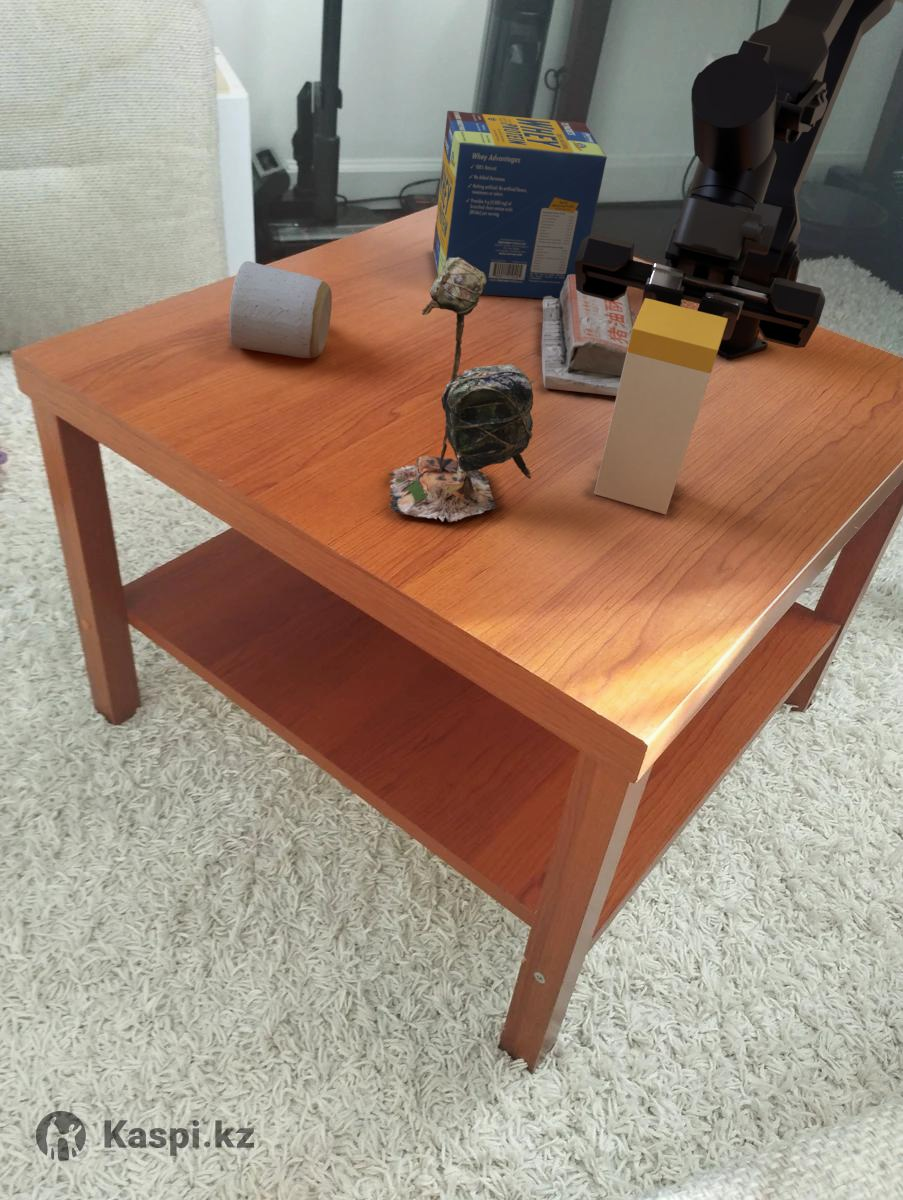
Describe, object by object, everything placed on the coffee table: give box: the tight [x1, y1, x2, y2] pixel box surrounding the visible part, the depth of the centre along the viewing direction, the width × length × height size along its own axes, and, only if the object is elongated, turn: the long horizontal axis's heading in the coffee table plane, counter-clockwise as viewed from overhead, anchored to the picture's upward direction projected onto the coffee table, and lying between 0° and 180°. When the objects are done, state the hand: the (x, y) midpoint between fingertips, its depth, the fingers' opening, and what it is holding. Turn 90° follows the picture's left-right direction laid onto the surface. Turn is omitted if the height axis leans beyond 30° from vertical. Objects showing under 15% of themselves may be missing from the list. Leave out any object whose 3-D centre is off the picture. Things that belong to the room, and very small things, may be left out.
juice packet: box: [593, 298, 728, 515], centre depth 75 cm, size 4×6×16 cm, turn 71°
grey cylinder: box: [228, 260, 333, 359], centre depth 92 cm, size 11×8×8 cm
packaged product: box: [541, 274, 636, 397], centre depth 98 cm, size 18×5×10 cm
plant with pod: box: [387, 257, 535, 523], centre depth 72 cm, size 8×11×20 cm
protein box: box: [432, 110, 608, 300], centre depth 106 cm, size 10×15×16 cm
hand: (662, 393), depth 77 cm, fingers closed
